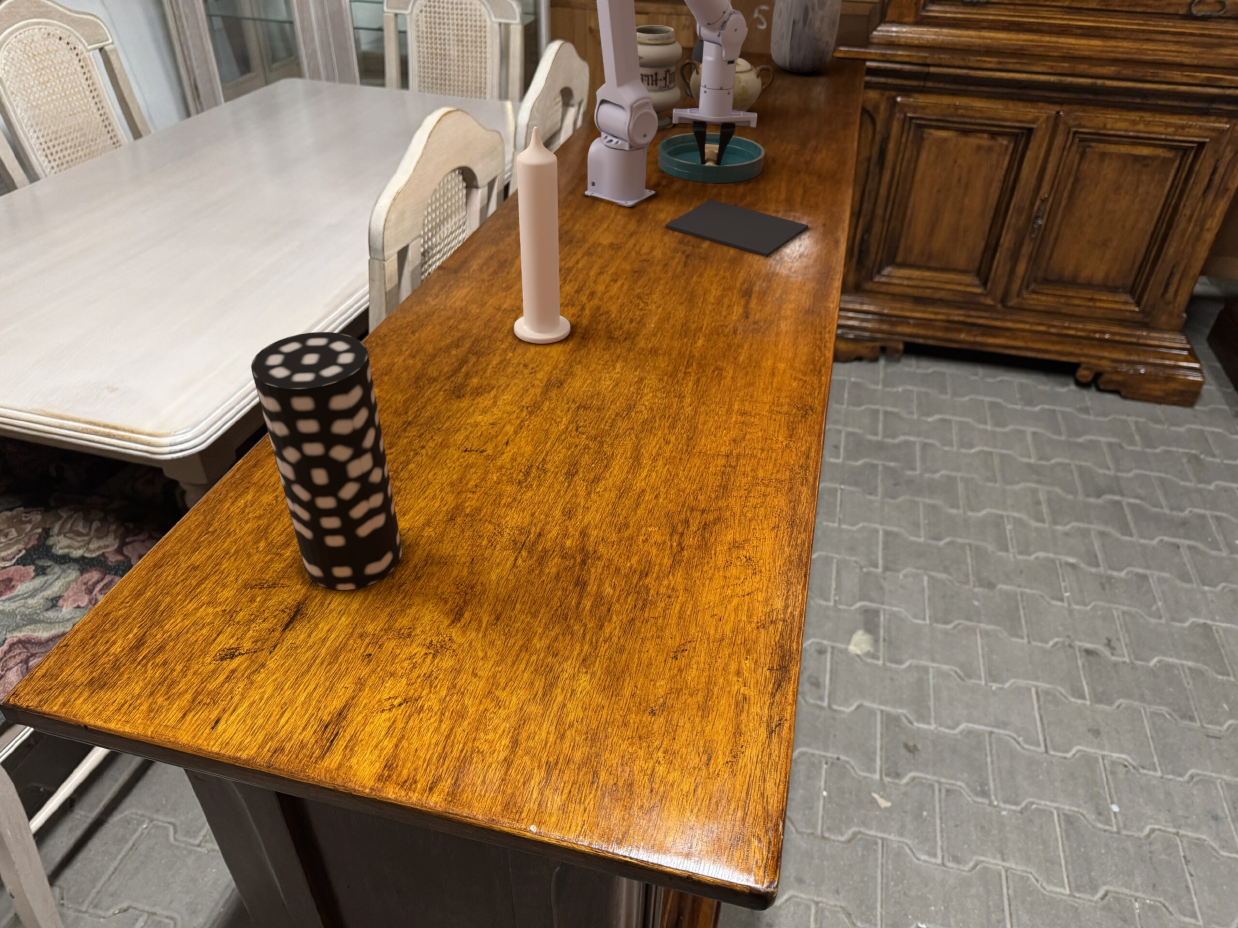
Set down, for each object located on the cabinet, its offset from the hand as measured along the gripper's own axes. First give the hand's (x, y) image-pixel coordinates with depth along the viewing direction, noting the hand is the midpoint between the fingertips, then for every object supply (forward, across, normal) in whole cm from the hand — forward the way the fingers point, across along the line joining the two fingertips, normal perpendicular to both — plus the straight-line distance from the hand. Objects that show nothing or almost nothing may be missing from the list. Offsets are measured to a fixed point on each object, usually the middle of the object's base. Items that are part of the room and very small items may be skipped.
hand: (710, 165), depth 158 cm
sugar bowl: (+2, -2, -38) cm, 38 cm away
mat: (+2, -5, +24) cm, 25 cm away
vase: (+2, -22, -81) cm, 84 cm away
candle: (+2, +20, +62) cm, 65 cm away
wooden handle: (+1, 0, -4) cm, 4 cm away
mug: (+2, +1, -58) cm, 58 cm away
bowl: (+2, 0, -4) cm, 4 cm away
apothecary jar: (+2, +13, -30) cm, 32 cm away
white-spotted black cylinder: (+2, +30, +105) cm, 109 cm away
